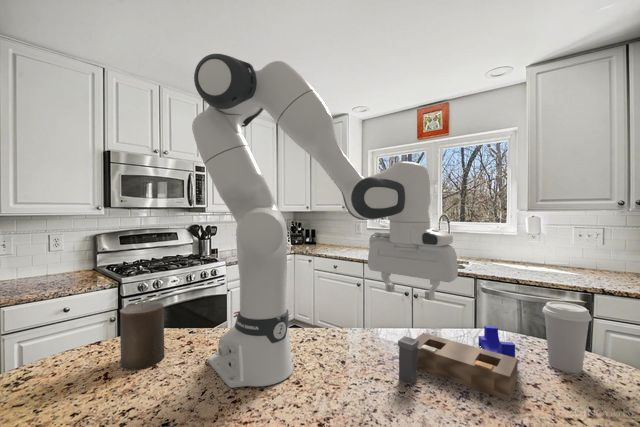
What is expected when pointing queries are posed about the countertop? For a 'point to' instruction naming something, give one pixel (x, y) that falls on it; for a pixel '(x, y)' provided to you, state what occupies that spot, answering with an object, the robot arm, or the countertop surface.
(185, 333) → the countertop surface
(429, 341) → the socket block
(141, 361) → the pillar candle
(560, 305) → the coffee cup
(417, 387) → the countertop surface
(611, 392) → the countertop surface
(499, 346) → the cable clip
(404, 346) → the plug
